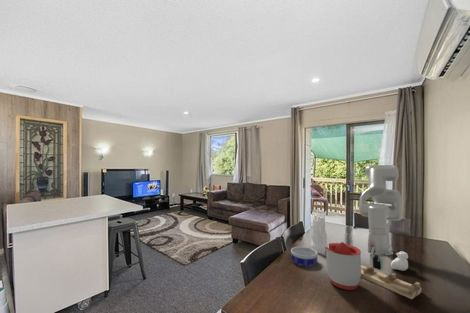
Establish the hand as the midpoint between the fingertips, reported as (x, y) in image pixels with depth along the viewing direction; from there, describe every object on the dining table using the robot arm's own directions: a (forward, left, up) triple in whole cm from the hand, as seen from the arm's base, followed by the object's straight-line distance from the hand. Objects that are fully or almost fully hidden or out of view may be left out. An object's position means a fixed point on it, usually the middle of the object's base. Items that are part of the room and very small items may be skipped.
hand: (379, 267), depth 106 cm
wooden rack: (0, 0, -6) cm, 6 cm away
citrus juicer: (+19, -8, -7) cm, 22 cm away
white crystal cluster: (-7, -41, -7) cm, 42 cm away
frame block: (0, 0, -1) cm, 1 cm away
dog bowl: (+15, -35, -7) cm, 39 cm away
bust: (-23, 0, -7) cm, 24 cm away
